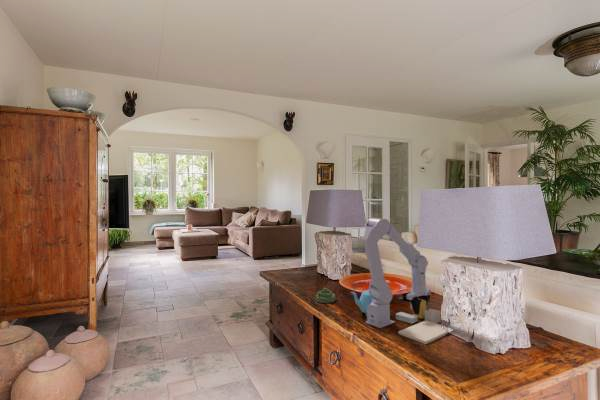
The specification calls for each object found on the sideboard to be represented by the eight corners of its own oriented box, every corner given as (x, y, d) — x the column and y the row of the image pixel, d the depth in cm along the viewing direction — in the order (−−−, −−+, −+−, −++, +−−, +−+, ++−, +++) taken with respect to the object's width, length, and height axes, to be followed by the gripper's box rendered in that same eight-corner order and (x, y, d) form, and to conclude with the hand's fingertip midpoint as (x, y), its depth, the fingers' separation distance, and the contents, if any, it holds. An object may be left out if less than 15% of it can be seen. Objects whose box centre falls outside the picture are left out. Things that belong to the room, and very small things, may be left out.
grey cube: (434, 324, 140) (434, 313, 140) (424, 321, 144) (424, 310, 144) (440, 321, 143) (440, 311, 143) (431, 318, 146) (430, 308, 146)
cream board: (425, 344, 122) (425, 341, 122) (398, 333, 132) (398, 331, 132) (453, 331, 133) (453, 328, 133) (426, 322, 142) (426, 320, 142)
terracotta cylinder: (417, 311, 156) (417, 302, 156) (408, 308, 160) (407, 300, 160) (423, 309, 159) (423, 300, 159) (414, 306, 163) (414, 298, 163)
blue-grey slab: (417, 322, 144) (417, 316, 144) (412, 324, 141) (411, 318, 141) (400, 317, 150) (400, 311, 150) (395, 319, 148) (395, 314, 148)
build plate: (393, 299, 175) (393, 291, 175) (400, 296, 180) (400, 288, 180) (415, 305, 166) (415, 295, 166) (423, 301, 171) (422, 292, 171)
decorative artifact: (321, 304, 171) (338, 301, 175) (320, 290, 171) (338, 287, 175) (313, 299, 180) (330, 296, 184) (312, 285, 180) (329, 283, 184)
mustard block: (421, 318, 147) (420, 302, 147) (413, 316, 150) (412, 300, 150) (426, 316, 149) (426, 300, 149) (418, 314, 152) (418, 298, 152)
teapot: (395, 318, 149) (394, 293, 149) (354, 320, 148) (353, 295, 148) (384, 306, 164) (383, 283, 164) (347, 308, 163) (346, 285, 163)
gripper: (416, 286, 142) (417, 319, 142) (436, 280, 150) (437, 311, 150) (402, 283, 148) (403, 314, 148) (422, 277, 156) (423, 307, 156)
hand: (419, 312), depth 150 cm, fingers closed on mustard block, 4 cm apart
